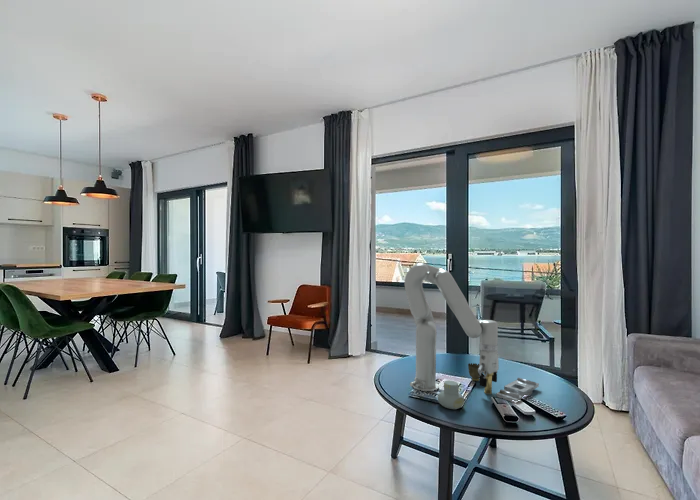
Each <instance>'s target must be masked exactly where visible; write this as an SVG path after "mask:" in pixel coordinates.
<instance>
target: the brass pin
mask: <svg viewBox="0 0 700 500" xmlns="http://www.w3.org/2000/svg"><path fill="white" fill-rule="evenodd" d="M483 374H485V373H483ZM492 375H493V373H491V374H488V373H487V376H486V378H487V386H486V387H483V388H484V390H483V391H484V394H486V395H492V393H493V381H492Z"/></svg>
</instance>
